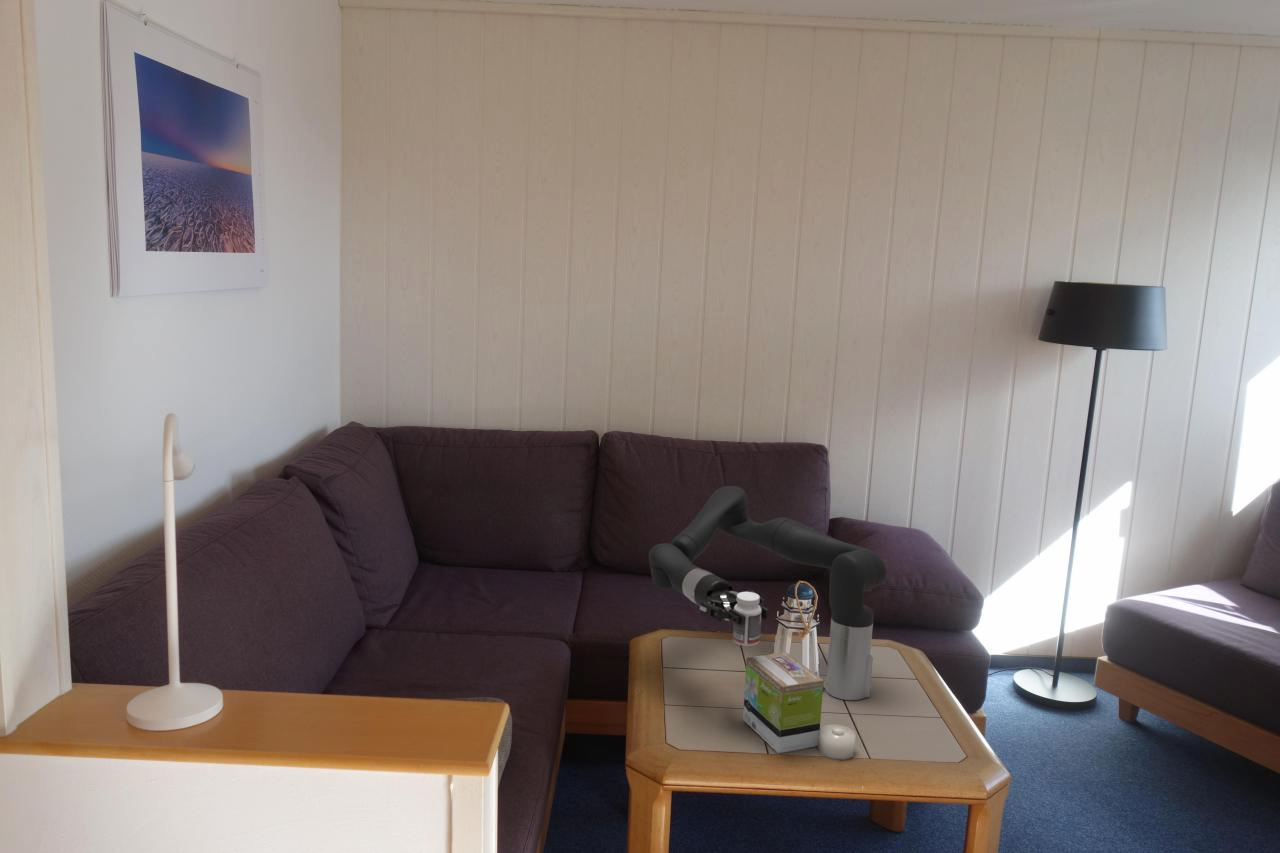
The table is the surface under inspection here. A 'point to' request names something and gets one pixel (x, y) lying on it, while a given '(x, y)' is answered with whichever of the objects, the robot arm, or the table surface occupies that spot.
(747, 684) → the tea box
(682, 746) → the table surface
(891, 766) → the table surface
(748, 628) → the pill bottle
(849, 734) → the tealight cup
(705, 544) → the robot arm
